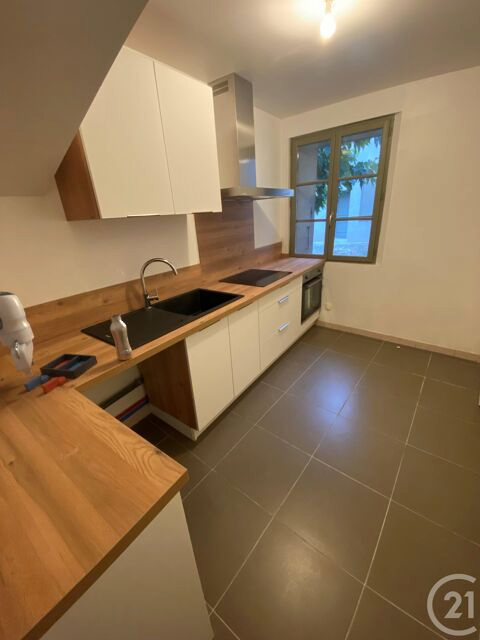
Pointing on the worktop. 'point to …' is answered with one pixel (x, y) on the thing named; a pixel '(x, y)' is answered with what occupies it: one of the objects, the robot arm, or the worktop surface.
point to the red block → (53, 384)
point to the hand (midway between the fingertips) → (31, 370)
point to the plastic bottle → (120, 338)
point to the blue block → (36, 382)
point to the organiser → (69, 366)
